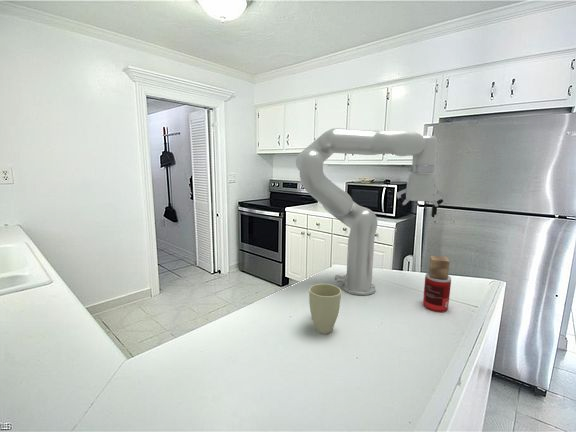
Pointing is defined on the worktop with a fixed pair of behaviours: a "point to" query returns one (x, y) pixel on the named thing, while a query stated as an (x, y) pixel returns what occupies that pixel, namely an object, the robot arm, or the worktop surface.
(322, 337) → the worktop surface
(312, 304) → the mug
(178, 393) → the worktop surface
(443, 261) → the walnut block
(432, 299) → the canned food
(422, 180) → the robot arm
